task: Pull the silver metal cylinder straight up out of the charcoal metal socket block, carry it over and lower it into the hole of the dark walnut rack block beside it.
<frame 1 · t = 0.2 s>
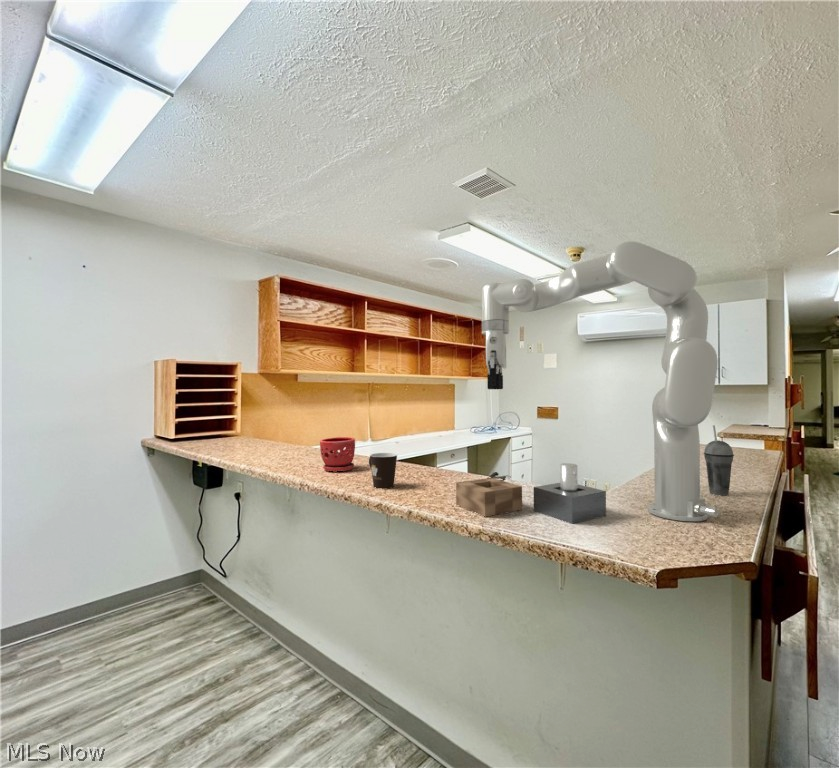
hand: (495, 389, 119), 31 cm above the counter, tool pointing down, fingers open, 9 cm apart
silver metal cylinder: (568, 489, 105), in the socket block
socket block: (569, 513, 105), on the counter
rack block: (488, 507, 110), on the counter
plant pot: (337, 470, 161), on the counter
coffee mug: (382, 486, 135), on the counter
beverage cup: (719, 494, 123), on the counter
hacksaw: (498, 484, 140), on the counter
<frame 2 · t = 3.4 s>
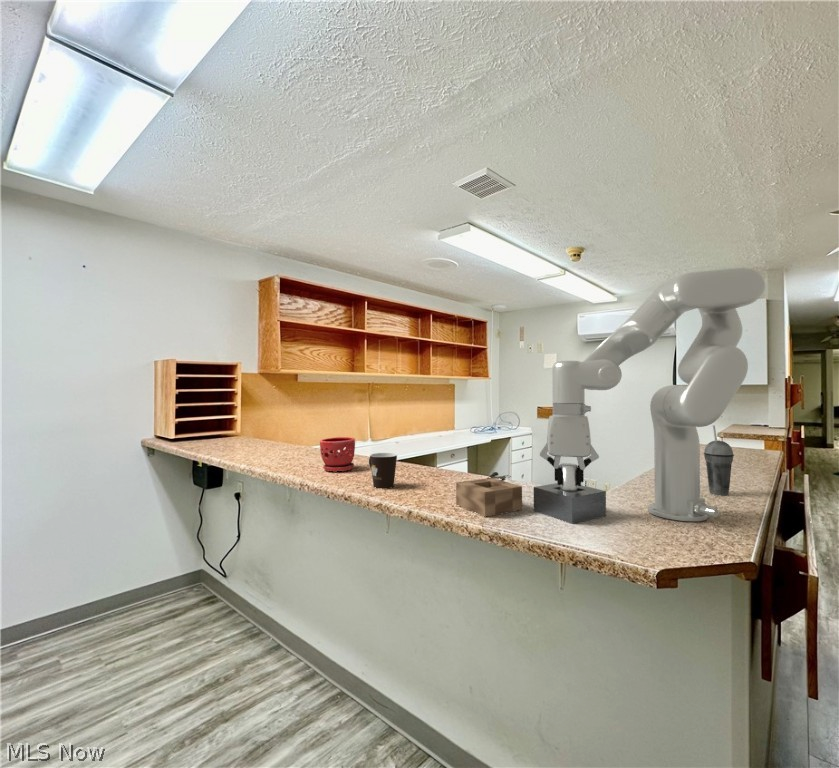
hand: (568, 483, 105), 7 cm above the counter, tool pointing down, fingers closed on silver metal cylinder, 4 cm apart
silver metal cylinder: (568, 489, 105), in the socket block, touching gripper
everything else where it was.
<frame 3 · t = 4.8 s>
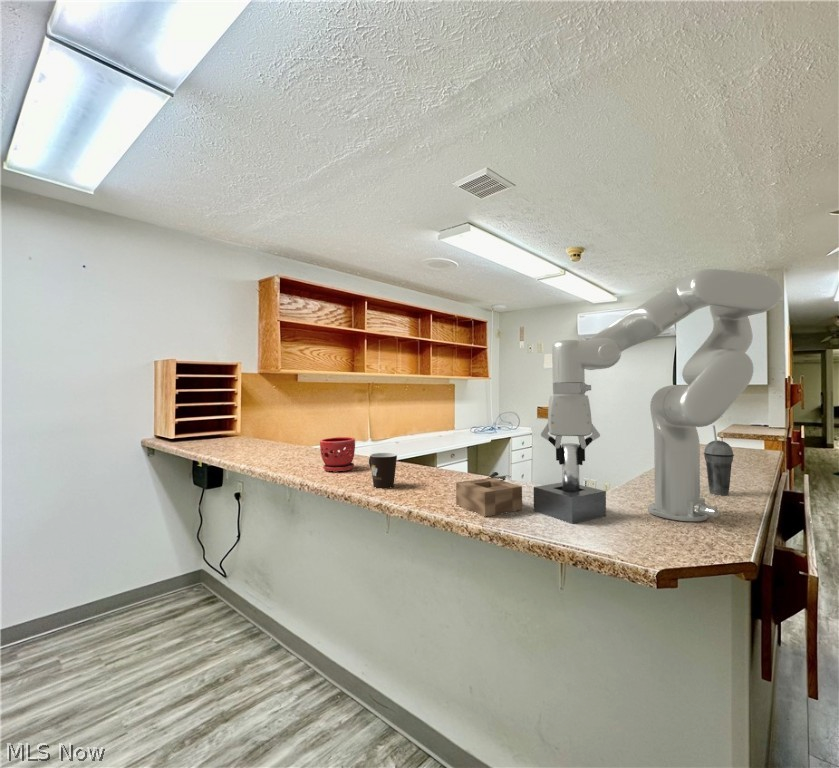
hand: (570, 463, 105), 12 cm above the counter, tool pointing down, fingers closed on silver metal cylinder, 4 cm apart
silver metal cylinder: (570, 468, 105), point 11 cm above the counter, touching gripper
everything else where it was.
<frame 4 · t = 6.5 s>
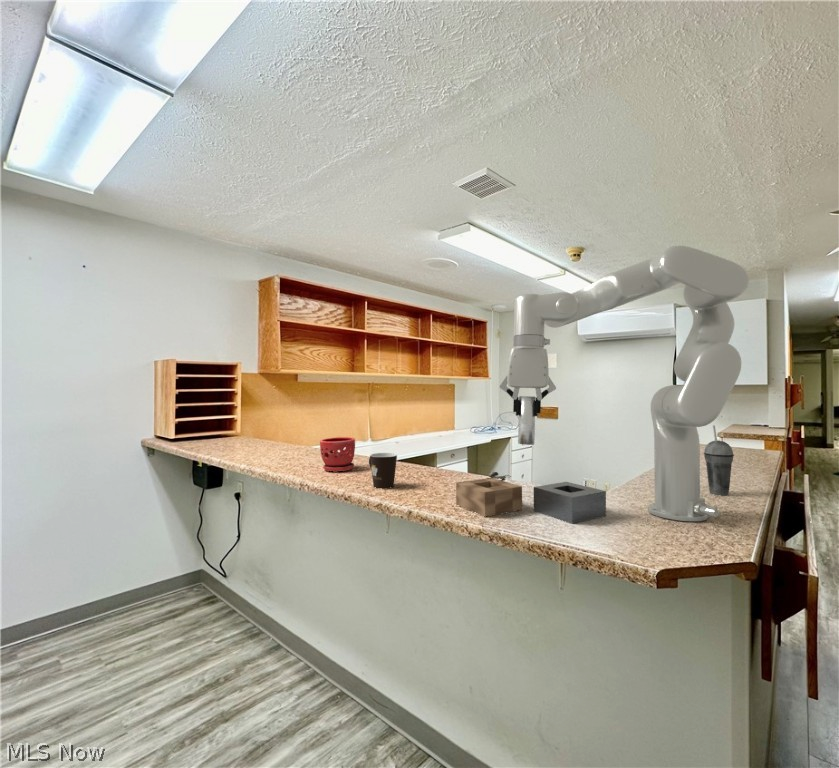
hand: (526, 414, 107), 24 cm above the counter, tool pointing down, fingers closed on silver metal cylinder, 4 cm apart
silver metal cylinder: (526, 420, 107), point 23 cm above the counter, touching gripper
everything else where it was.
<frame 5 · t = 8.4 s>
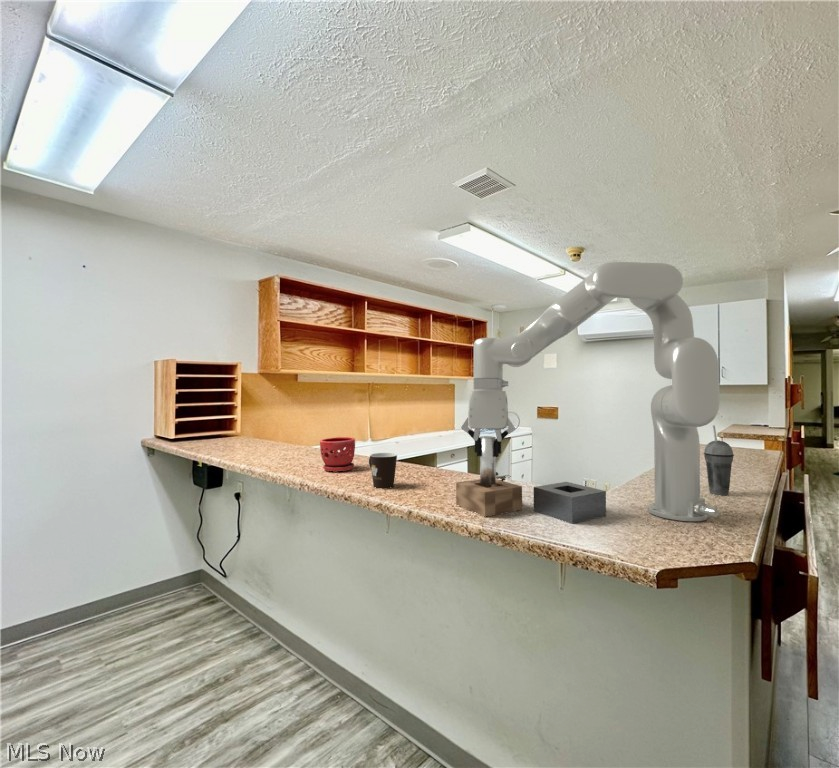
hand: (487, 455, 110), 14 cm above the counter, tool pointing down, fingers closed on silver metal cylinder, 4 cm apart
silver metal cylinder: (487, 460, 110), point 12 cm above the counter, touching gripper
everything else where it was.
when the fingers open (9 cm above the counter, at t = 9.7 s): silver metal cylinder drops 1 cm, resting in rack block.
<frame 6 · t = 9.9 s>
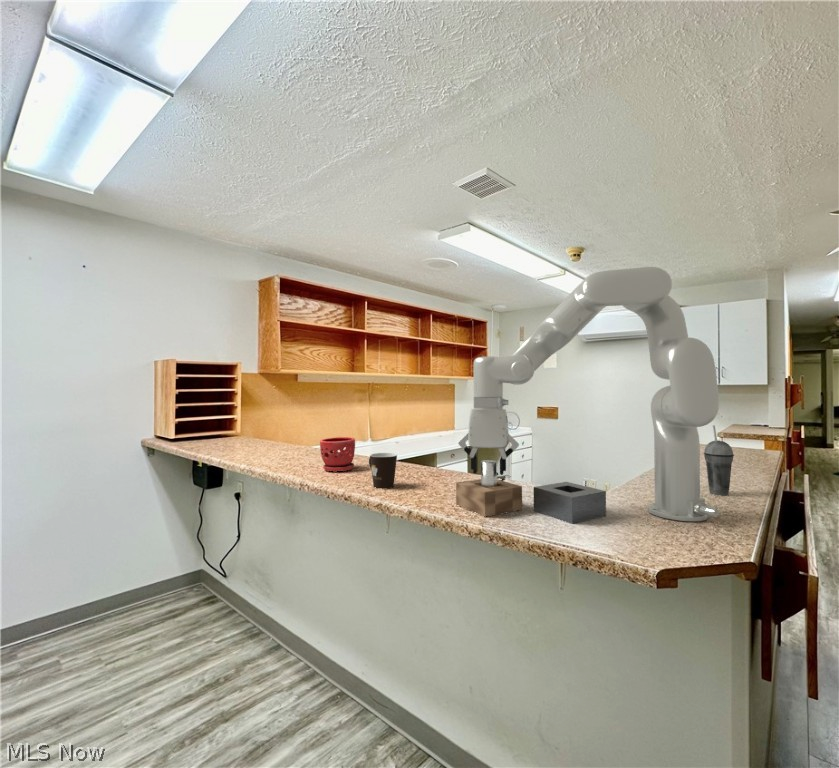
hand: (488, 472, 110), 9 cm above the counter, tool pointing down, fingers open, 6 cm apart
silver metal cylinder: (488, 484, 110), in the rack block
everything else where it was.
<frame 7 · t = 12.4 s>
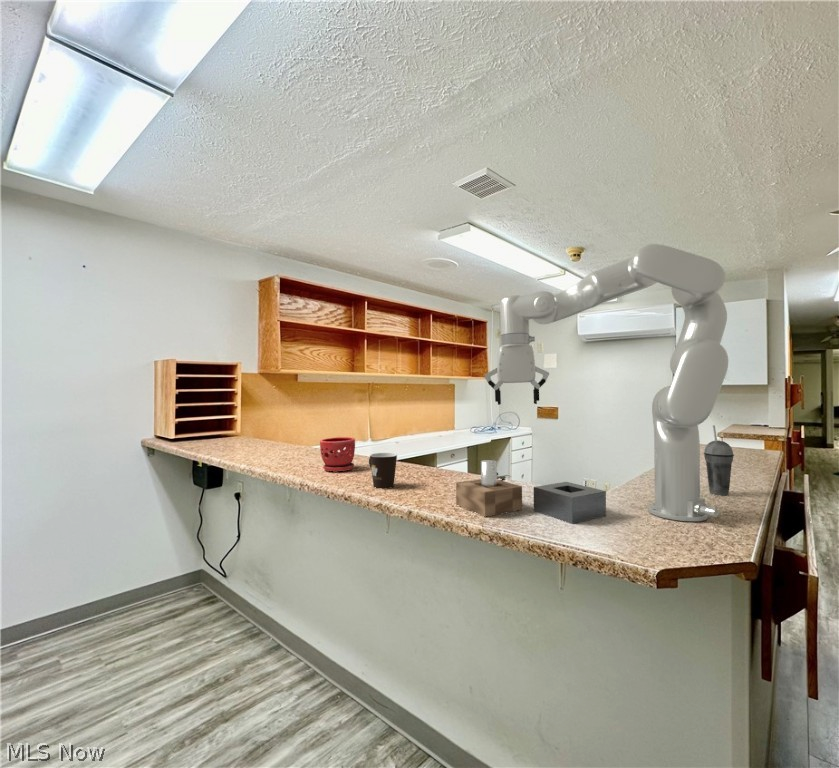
hand: (517, 404, 116), 27 cm above the counter, tool pointing down, fingers open, 9 cm apart
nothing on the counter moved.
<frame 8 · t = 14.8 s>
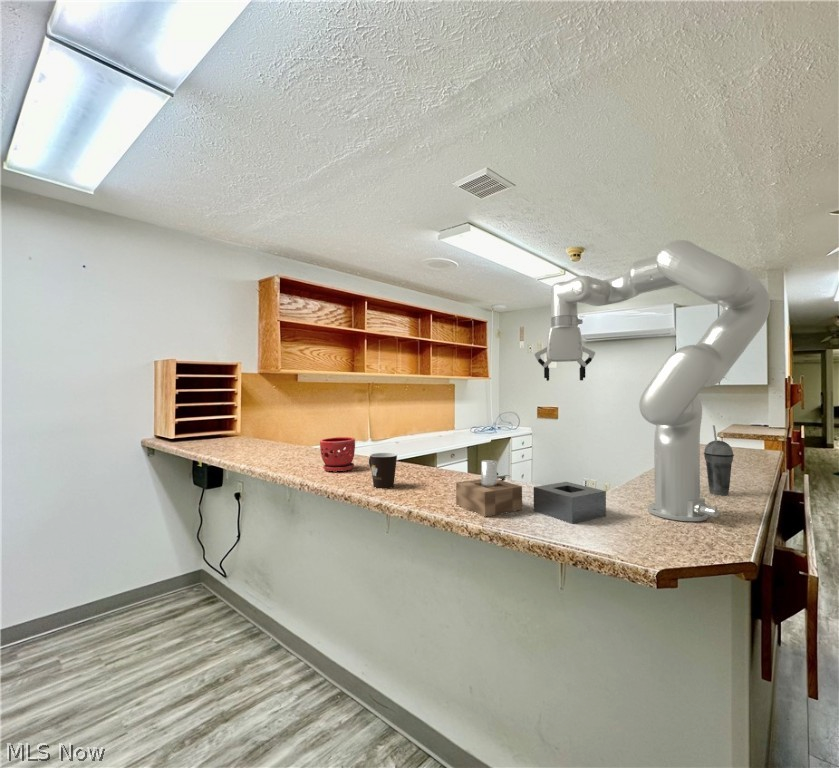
hand: (564, 380, 127), 33 cm above the counter, tool pointing down, fingers open, 9 cm apart
nothing on the counter moved.
at the end: silver metal cylinder 0.1 cm off-centre on the rack block, point 6.0 cm above the rack block's base; silver metal cylinder tilted 0°; the gripper is holding nothing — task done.
